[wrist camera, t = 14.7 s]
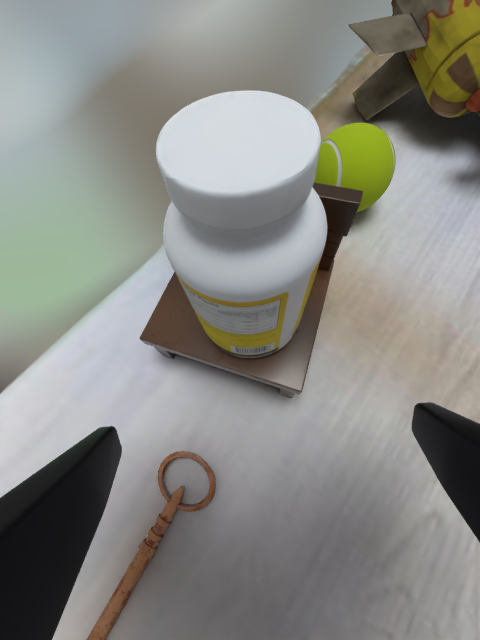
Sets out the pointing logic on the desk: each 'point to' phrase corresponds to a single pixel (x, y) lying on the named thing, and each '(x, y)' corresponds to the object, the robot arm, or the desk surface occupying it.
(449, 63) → the multicoloured piece
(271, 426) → the desk surface
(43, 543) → the robot arm
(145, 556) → the key
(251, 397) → the desk surface
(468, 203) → the desk surface
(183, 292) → the chair
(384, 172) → the tennis ball
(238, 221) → the pill bottle
